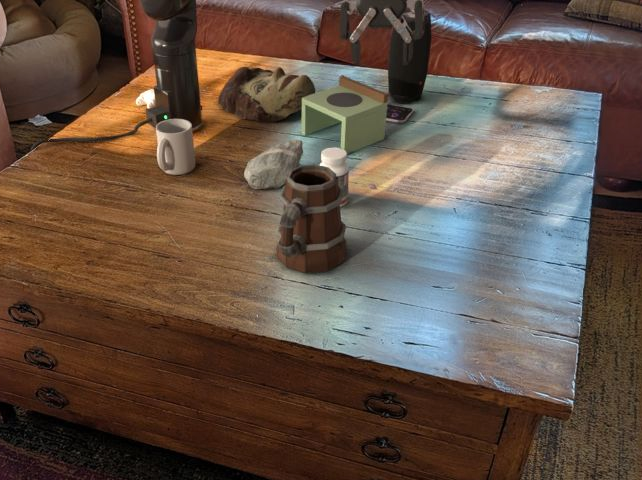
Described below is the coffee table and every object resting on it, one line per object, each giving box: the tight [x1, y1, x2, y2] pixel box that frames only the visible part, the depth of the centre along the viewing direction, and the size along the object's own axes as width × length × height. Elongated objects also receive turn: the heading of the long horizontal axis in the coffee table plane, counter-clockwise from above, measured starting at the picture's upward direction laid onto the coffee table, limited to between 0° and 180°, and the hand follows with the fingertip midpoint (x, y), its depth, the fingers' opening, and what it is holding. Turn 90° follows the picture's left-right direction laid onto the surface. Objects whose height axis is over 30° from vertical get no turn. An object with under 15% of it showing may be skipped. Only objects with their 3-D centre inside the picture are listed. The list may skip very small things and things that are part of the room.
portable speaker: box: [387, 8, 433, 104], centre depth 170 cm, size 9×9×20 cm
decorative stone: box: [243, 139, 304, 190], centre depth 145 cm, size 13×10×6 cm
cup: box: [155, 119, 196, 176], centre depth 148 cm, size 7×10×9 cm
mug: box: [276, 163, 347, 274], centre depth 119 cm, size 16×12×15 cm
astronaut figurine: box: [135, 88, 156, 109], centre depth 177 cm, size 9×12×3 cm
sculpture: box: [217, 66, 317, 123], centre depth 172 cm, size 21×10×25 cm
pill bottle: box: [319, 147, 350, 208], centre depth 136 cm, size 6×6×10 cm
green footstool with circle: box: [301, 75, 389, 155], centre depth 157 cm, size 12×14×10 cm
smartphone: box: [386, 103, 414, 124], centre depth 170 cm, size 8×1×15 cm
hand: (381, 63), depth 128 cm, fingers open, 8 cm apart
